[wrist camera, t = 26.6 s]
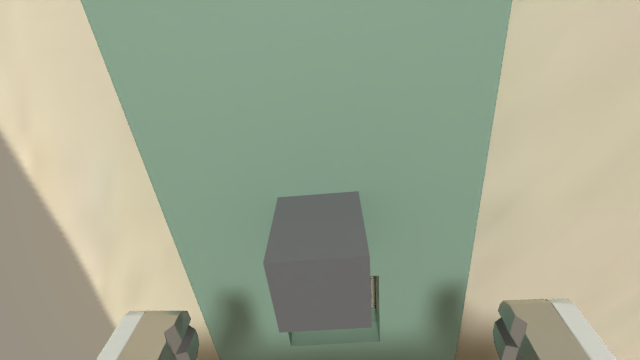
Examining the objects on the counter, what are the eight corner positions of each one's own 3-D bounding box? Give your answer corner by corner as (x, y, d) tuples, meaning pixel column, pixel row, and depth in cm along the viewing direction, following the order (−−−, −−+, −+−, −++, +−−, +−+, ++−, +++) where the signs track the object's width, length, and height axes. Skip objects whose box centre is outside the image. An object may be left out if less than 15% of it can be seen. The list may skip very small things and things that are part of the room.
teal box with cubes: (485, -45, 11) (625, -76, 6) (441, 329, 19) (481, 445, 14) (120, -4, 11) (-37, 0, 6) (235, 340, 20) (207, 455, 15)
